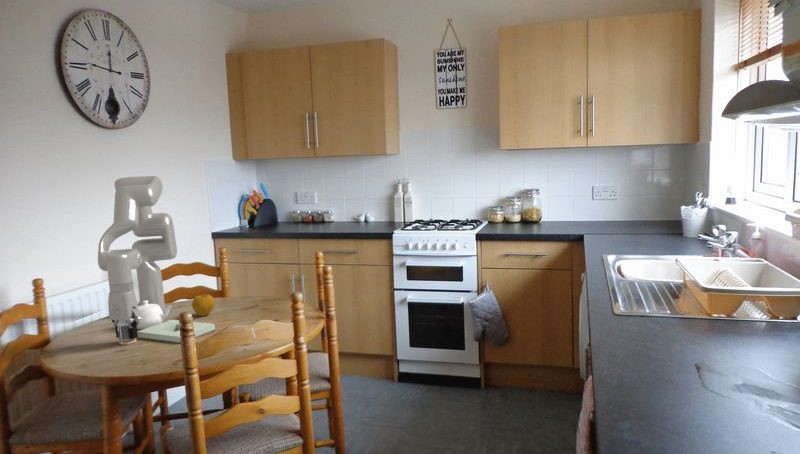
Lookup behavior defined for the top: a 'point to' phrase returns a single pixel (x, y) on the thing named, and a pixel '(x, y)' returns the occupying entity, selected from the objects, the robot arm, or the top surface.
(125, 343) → the pill bottle
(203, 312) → the apple
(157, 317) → the teapot
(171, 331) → the pocket board
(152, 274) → the robot arm
